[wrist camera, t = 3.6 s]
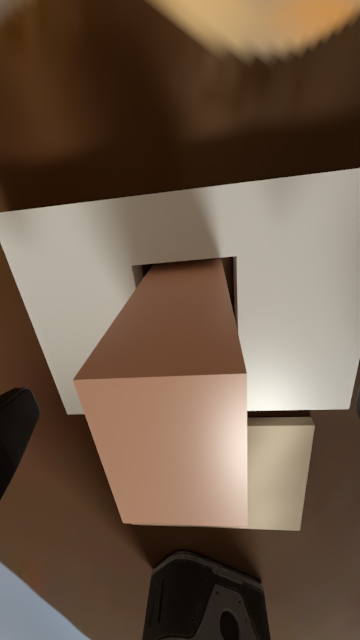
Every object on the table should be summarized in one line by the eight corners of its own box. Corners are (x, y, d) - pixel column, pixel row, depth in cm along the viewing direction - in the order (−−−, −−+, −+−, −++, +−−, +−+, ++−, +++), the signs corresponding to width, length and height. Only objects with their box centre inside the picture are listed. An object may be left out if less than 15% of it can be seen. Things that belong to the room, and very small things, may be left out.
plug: (221, 258, 12) (246, 373, 4) (225, 346, 13) (247, 527, 6) (152, 264, 12) (72, 379, 5) (165, 349, 14) (123, 523, 7)
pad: (310, 416, 15) (314, 425, 14) (297, 521, 19) (299, 530, 19) (103, 419, 16) (100, 427, 16) (133, 515, 21) (132, 524, 20)
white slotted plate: (373, 166, 10) (400, 163, 8) (335, 387, 14) (349, 409, 13) (14, 211, 11) (-11, 213, 10) (79, 394, 16) (67, 414, 14)
